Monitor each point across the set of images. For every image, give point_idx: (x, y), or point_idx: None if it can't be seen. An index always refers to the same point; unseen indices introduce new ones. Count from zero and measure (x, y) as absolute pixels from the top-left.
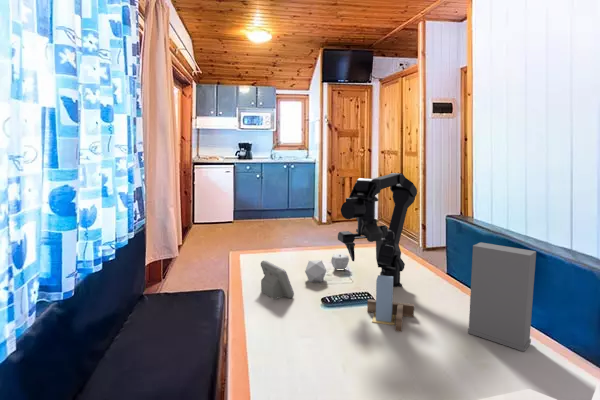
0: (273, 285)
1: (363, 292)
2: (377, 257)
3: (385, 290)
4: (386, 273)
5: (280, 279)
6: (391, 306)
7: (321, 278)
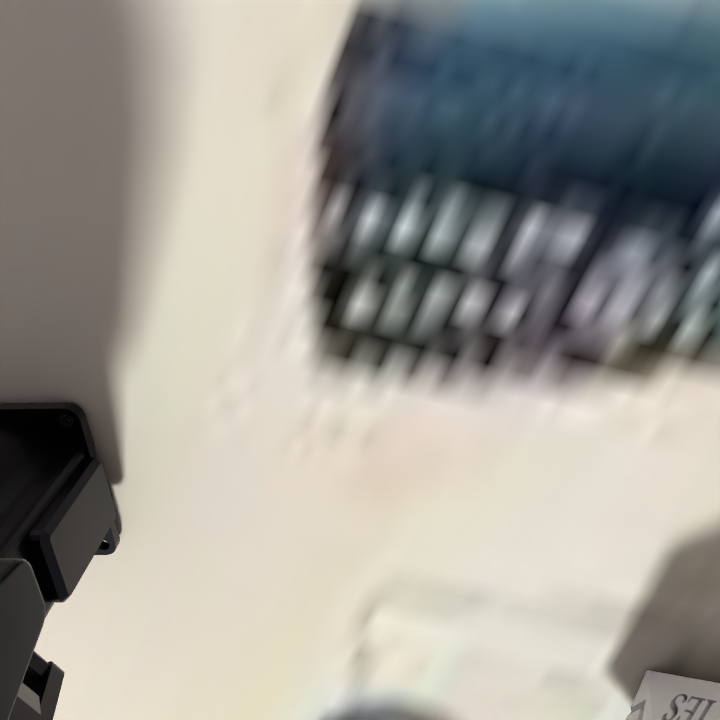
0: None
1: (370, 356)
2: (15, 609)
3: None
4: (2, 535)
5: None
6: None
7: (681, 692)
